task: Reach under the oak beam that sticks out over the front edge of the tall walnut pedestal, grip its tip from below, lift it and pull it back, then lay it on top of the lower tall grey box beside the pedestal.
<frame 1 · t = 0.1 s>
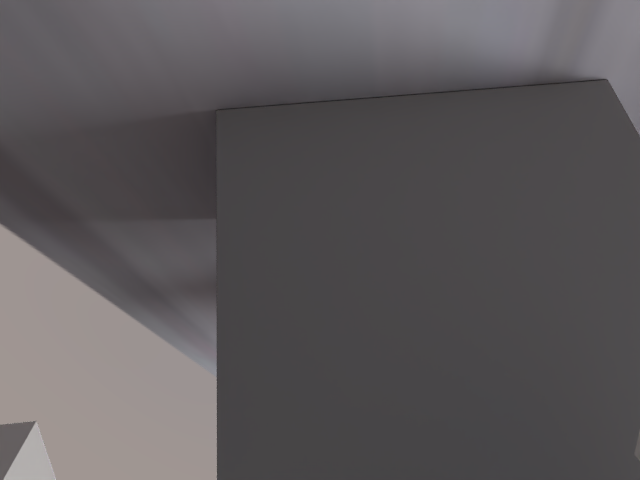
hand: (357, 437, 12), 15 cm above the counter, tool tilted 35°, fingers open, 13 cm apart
tall grey box: (403, 156, 27), on the counter
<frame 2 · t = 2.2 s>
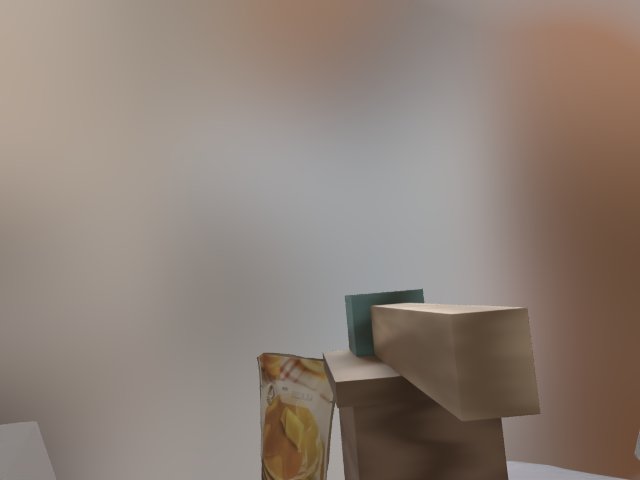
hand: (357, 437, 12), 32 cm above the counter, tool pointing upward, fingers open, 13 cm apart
oak beam: (416, 367, 35), point 30 cm above the counter, touching walnut pedestal
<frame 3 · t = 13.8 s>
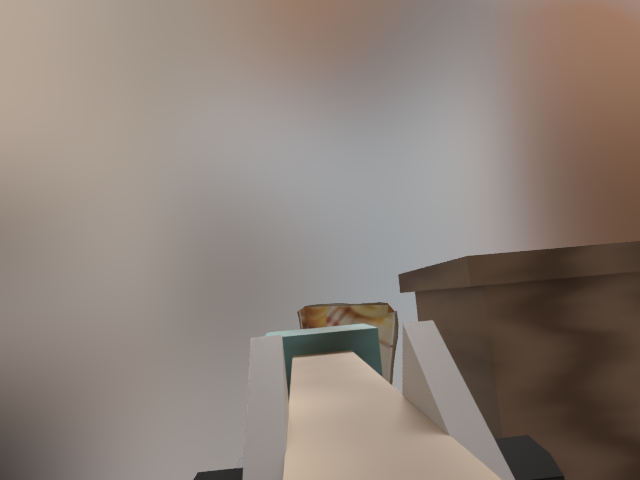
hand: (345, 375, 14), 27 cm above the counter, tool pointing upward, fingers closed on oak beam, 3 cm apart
when the fingers open (26 cm above the counter, at t = 14.2 s): oak beam drops 1 cm, resting on tall grey box.
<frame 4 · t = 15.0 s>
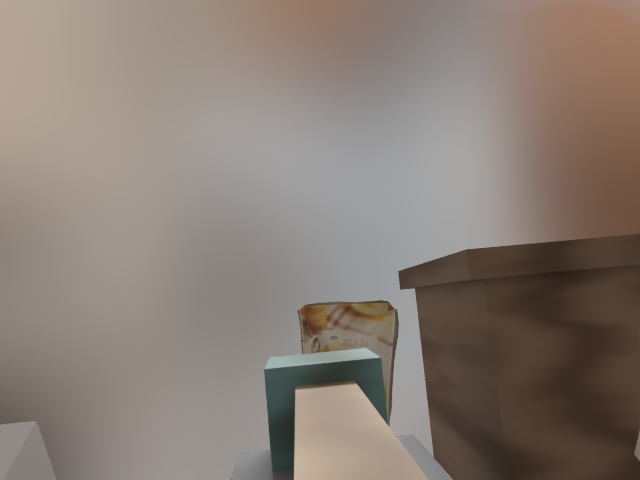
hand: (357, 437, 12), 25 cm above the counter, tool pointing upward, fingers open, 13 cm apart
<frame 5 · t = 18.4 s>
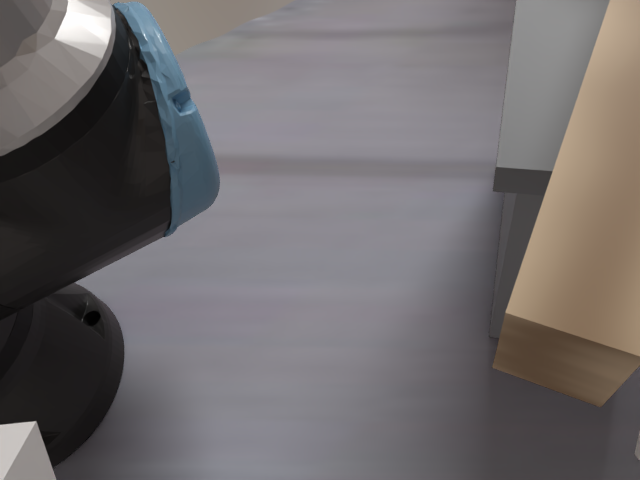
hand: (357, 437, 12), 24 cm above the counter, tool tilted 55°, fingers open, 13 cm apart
tall grey box: (557, 238, 40), on the counter
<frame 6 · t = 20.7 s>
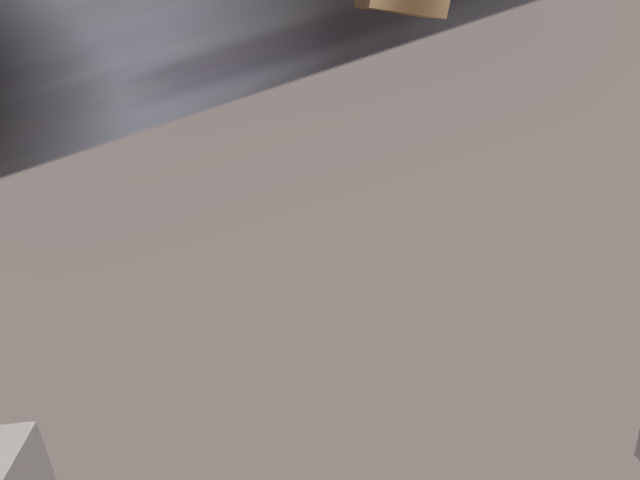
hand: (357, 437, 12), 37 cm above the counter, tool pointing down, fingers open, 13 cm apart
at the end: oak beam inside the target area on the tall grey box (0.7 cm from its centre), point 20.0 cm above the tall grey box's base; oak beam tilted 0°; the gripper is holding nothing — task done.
